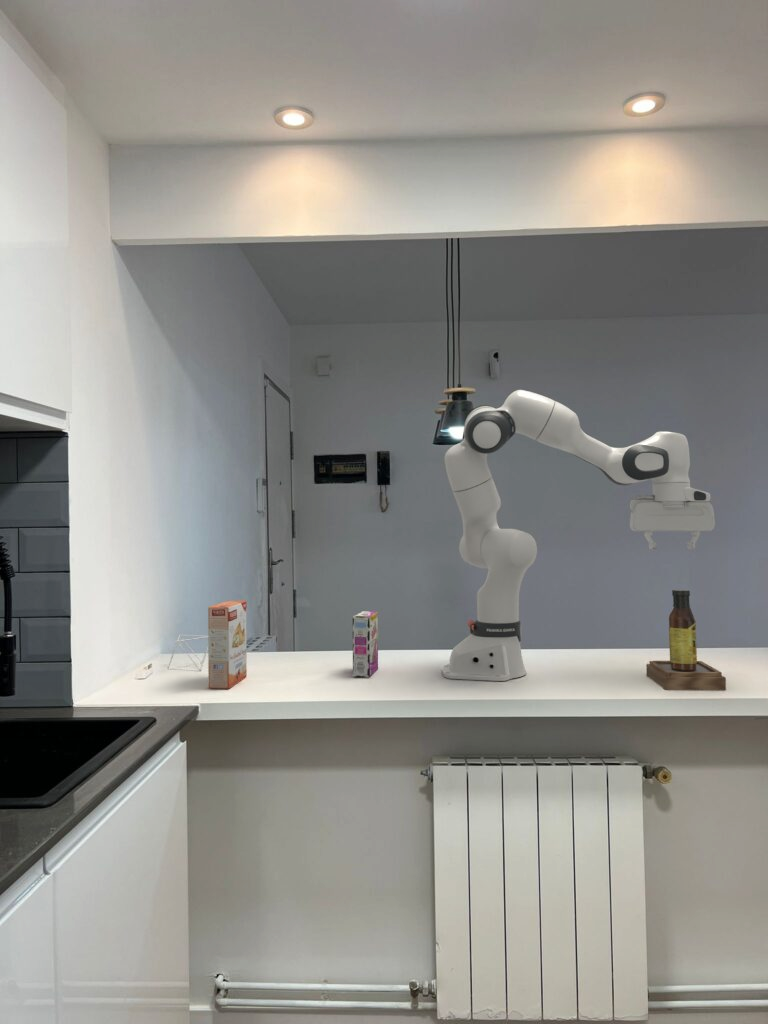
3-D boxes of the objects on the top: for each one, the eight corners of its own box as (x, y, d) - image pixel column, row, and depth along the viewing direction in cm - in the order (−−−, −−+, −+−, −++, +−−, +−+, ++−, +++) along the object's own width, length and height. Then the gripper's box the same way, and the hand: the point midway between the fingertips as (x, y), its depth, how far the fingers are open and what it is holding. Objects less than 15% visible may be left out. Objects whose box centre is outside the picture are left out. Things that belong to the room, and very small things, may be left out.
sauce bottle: (699, 672, 168) (698, 591, 169) (672, 671, 170) (671, 591, 170) (693, 666, 175) (691, 588, 175) (667, 666, 176) (665, 588, 176)
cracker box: (230, 689, 173) (229, 606, 173) (207, 689, 174) (206, 606, 174) (248, 676, 187) (247, 599, 187) (227, 676, 188) (225, 599, 188)
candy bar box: (370, 678, 182) (369, 616, 183) (352, 677, 183) (351, 616, 184) (379, 669, 193) (378, 610, 193) (362, 668, 194) (361, 610, 194)
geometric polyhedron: (217, 668, 198) (217, 636, 199) (182, 674, 191) (181, 641, 191) (197, 662, 208) (196, 632, 208) (162, 668, 200) (162, 636, 200)
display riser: (665, 690, 165) (665, 673, 165) (646, 675, 180) (646, 660, 180) (725, 690, 164) (725, 673, 164) (701, 675, 179) (701, 660, 179)
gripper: (632, 494, 173) (633, 549, 173) (717, 494, 172) (717, 549, 172) (626, 495, 180) (626, 548, 180) (707, 494, 178) (708, 548, 178)
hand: (671, 549), depth 176 cm, fingers open, 8 cm apart
